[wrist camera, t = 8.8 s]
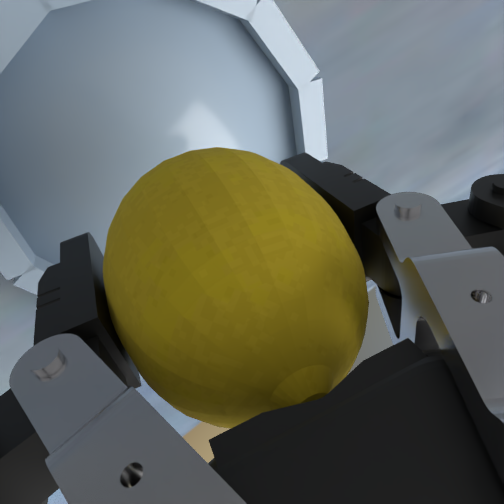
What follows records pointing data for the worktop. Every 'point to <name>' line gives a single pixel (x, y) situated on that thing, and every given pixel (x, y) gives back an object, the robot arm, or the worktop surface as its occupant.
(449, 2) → the worktop surface
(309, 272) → the lemon
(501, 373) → the robot arm
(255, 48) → the dish
